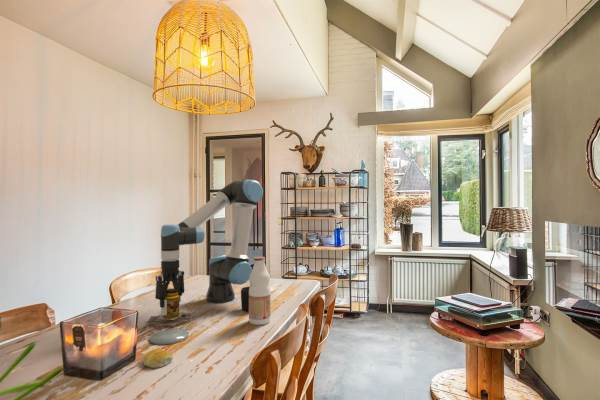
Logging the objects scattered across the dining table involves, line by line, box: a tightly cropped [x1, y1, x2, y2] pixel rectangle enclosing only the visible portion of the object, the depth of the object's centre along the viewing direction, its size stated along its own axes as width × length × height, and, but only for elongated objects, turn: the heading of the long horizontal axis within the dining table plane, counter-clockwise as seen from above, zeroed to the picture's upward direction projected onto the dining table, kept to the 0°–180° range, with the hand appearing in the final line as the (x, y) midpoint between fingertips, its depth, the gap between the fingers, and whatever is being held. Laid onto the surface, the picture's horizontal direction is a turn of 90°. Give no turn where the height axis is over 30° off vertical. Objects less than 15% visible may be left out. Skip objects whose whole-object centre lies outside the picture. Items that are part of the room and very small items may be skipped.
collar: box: [147, 311, 192, 329], centre depth 153 cm, size 17×17×2 cm
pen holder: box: [240, 286, 250, 313], centre depth 169 cm, size 9×9×10 cm
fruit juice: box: [248, 256, 272, 326], centre depth 151 cm, size 9×9×28 cm
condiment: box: [157, 288, 183, 321], centre depth 153 cm, size 7×8×12 cm
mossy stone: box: [142, 348, 174, 369], centre depth 113 cm, size 8×9×4 cm
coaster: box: [149, 328, 189, 346], centre depth 134 cm, size 14×14×1 cm
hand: (170, 312), depth 153 cm, fingers closed on condiment, 6 cm apart
